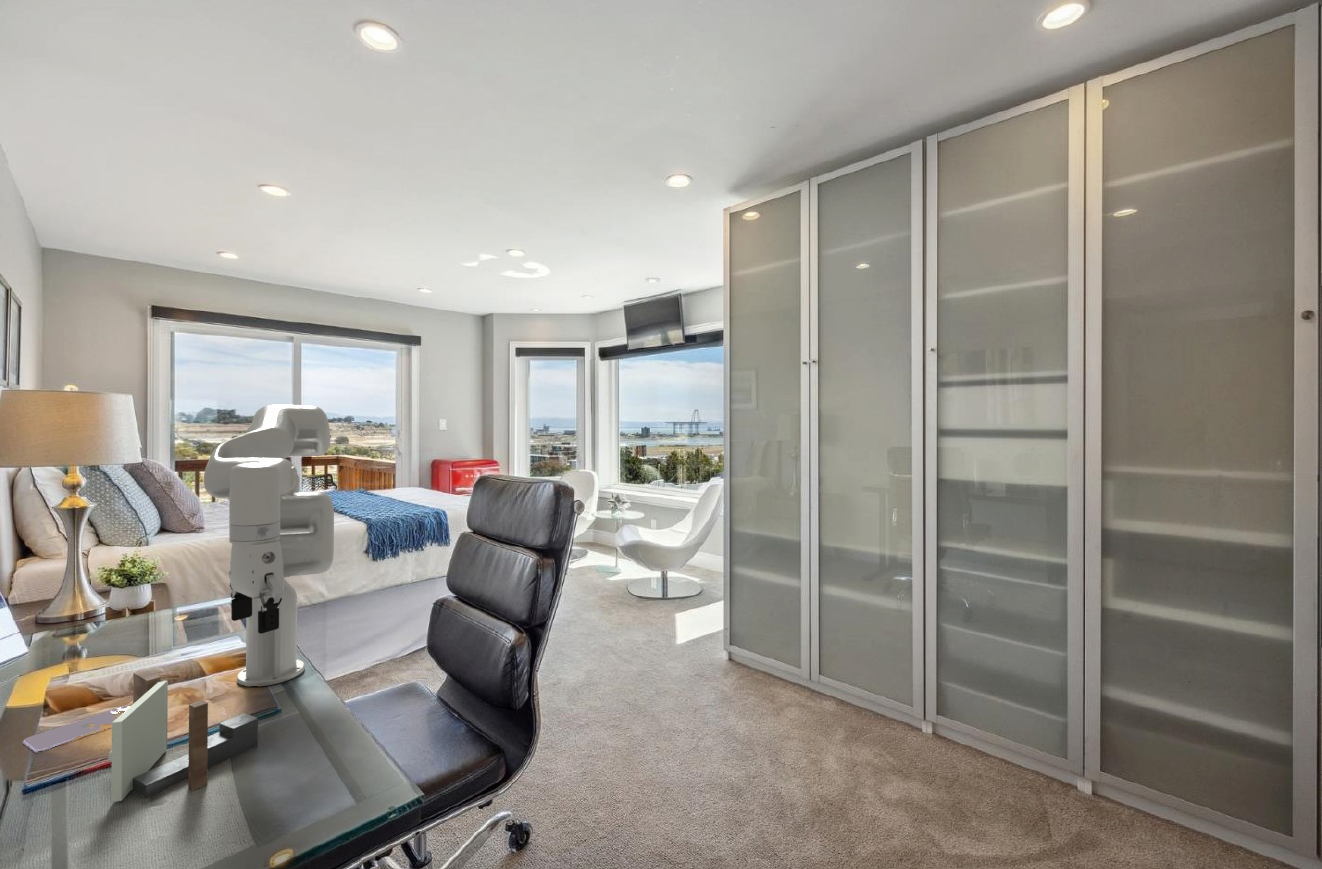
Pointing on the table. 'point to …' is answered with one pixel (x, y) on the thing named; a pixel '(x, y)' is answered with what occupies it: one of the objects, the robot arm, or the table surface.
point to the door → (138, 739)
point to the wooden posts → (196, 729)
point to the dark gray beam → (221, 747)
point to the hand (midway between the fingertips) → (254, 624)
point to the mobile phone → (70, 731)
